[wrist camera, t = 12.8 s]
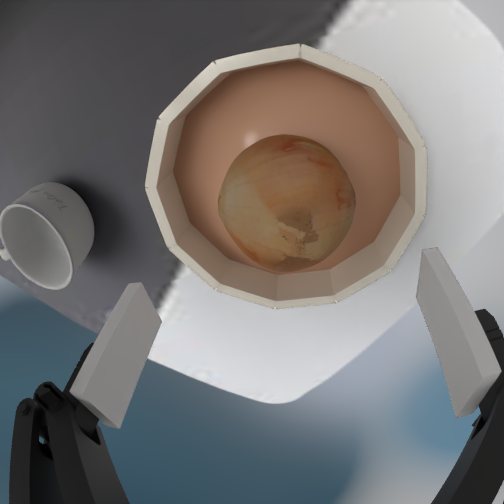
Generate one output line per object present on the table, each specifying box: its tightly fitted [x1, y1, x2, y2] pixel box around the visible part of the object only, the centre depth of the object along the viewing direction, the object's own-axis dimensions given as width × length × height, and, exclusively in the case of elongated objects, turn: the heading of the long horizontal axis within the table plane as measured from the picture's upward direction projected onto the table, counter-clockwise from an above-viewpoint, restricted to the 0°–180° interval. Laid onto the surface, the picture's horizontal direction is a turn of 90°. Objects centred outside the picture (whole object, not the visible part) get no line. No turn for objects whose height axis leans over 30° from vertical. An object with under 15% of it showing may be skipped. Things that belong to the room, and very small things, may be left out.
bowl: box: [145, 44, 427, 309], centre depth 25 cm, size 22×22×5 cm
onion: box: [218, 134, 356, 272], centre depth 22 cm, size 10×10×10 cm
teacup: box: [0, 182, 94, 290], centre depth 29 cm, size 14×11×8 cm
